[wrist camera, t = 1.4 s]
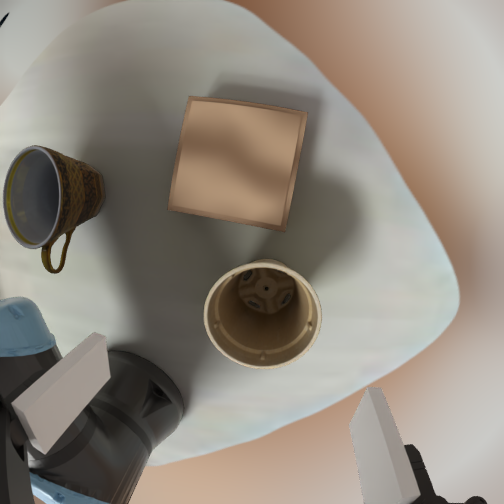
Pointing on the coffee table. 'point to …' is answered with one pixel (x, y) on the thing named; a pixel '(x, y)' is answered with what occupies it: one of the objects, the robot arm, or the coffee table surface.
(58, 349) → the robot arm
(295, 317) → the flower pot
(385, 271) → the coffee table surface
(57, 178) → the ceramic cup
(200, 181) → the stand
